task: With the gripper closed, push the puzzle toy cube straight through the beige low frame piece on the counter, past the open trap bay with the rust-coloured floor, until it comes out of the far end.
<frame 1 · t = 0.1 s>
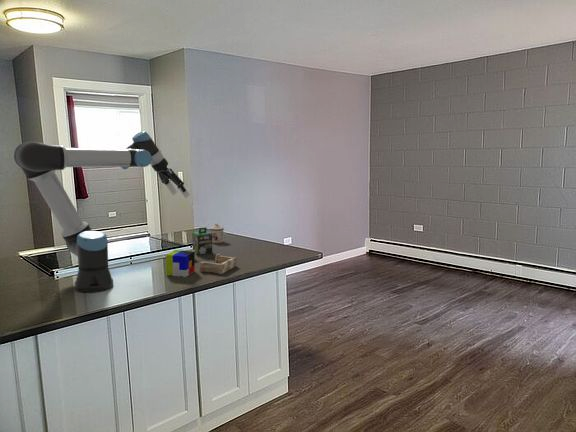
hand: (181, 194, 220), 36 cm above the worktop, tool tilted 35°, fingers open, 13 cm apart
puzzle toy: (180, 273, 208), on the worktop
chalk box: (202, 252, 249), on the worktop
teacup with lid: (218, 242, 275), on the worktop
beige low frame piece: (197, 265, 222), on the worktop
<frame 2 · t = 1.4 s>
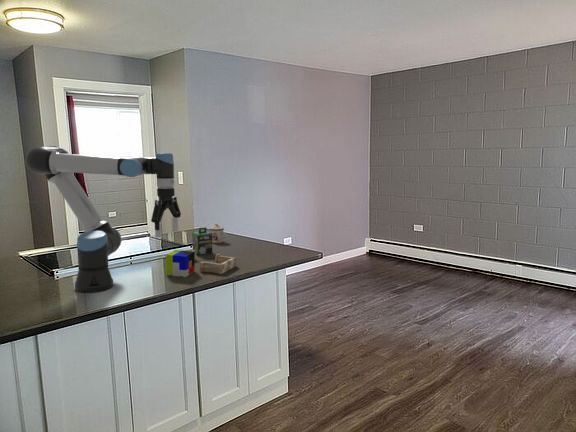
hand: (167, 234, 196), 21 cm above the worktop, tool pointing down, fingers open, 13 cm apart
nothing on the worktop moved.
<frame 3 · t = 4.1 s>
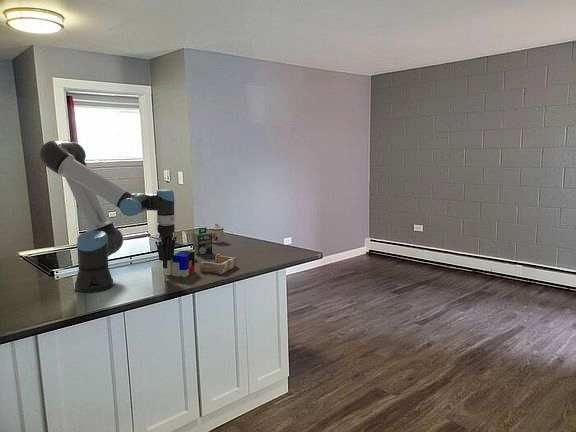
hand: (166, 274, 198), 2 cm above the worktop, tool pointing down, fingers closed
nothing on the worktop moved.
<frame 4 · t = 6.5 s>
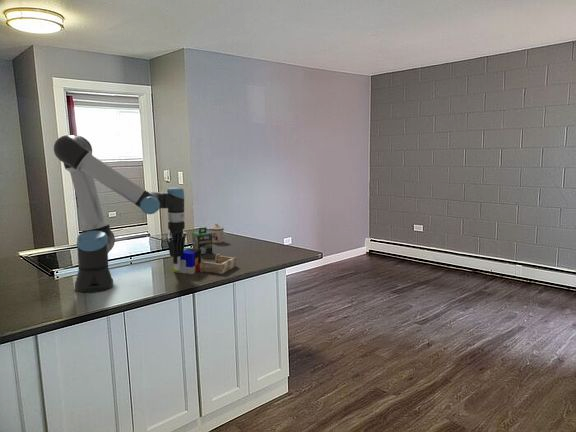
hand: (177, 269, 205), 3 cm above the worktop, tool pointing down, fingers closed
puzzle toy: (187, 270, 213), on the worktop, touching hand
everything else where it was.
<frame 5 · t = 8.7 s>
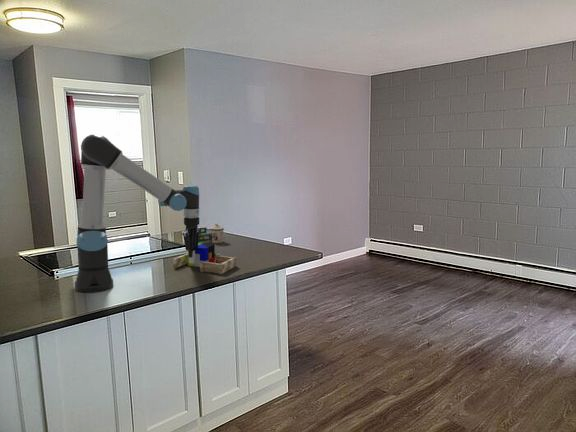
hand: (192, 263, 217), 3 cm above the worktop, tool pointing down, fingers closed
puzzle toy: (201, 264, 225), on the worktop, touching gripper
everything else where it was.
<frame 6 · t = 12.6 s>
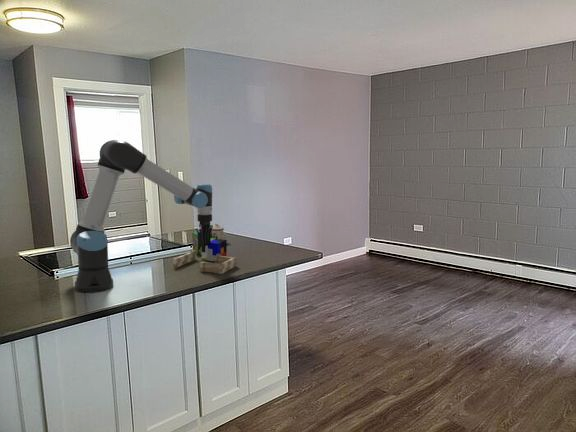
hand: (204, 257, 228), 2 cm above the worktop, tool pointing down, fingers closed
puzzle toy: (214, 258, 237), on the worktop, touching gripper
everything else where it was.
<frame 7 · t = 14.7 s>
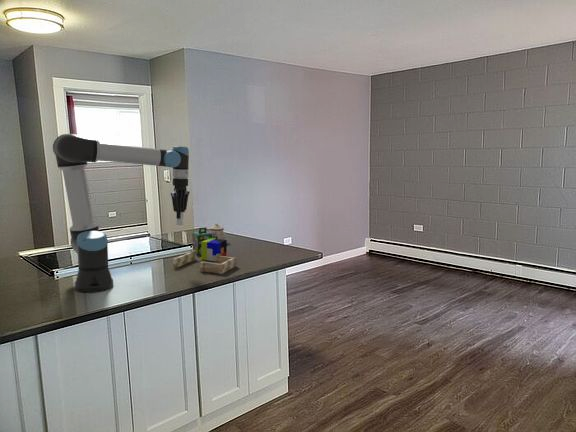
hand: (179, 224, 216), 21 cm above the worktop, tool pointing down, fingers closed
puzzle toy: (214, 258, 237), on the worktop
everything else where it was.
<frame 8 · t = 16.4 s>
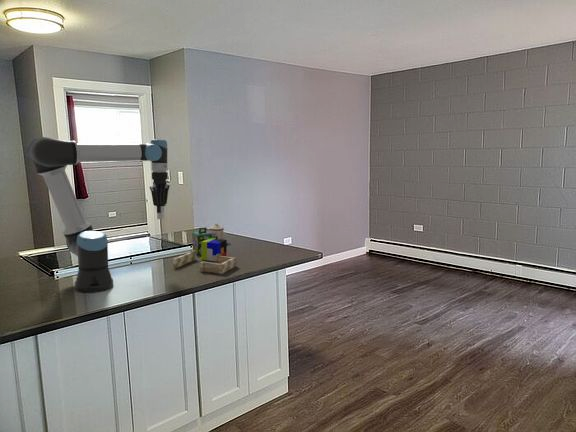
hand: (160, 219, 214), 24 cm above the worktop, tool pointing down, fingers closed
nothing on the worktop moved.
at the end: puzzle toy inside the target area (0.8 cm from its centre), on the worktop; puzzle toy moved 30.6 cm from its start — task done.
